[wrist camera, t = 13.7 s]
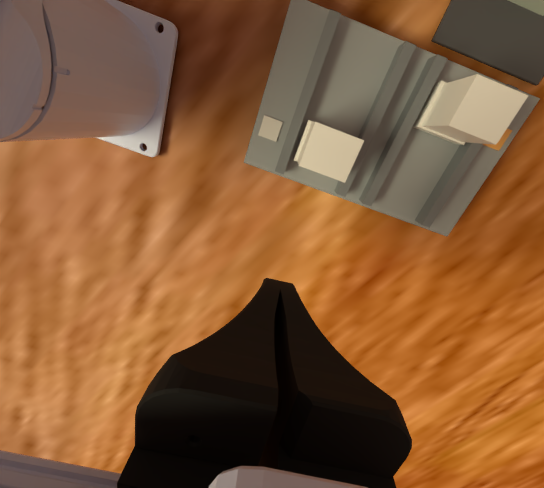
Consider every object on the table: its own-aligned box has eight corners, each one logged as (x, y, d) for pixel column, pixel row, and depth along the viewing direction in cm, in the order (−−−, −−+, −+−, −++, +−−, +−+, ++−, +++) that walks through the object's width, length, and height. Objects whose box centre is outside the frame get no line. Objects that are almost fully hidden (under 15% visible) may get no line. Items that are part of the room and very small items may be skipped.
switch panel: (247, 160, 19) (241, 164, 17) (292, 6, 15) (292, -16, 13) (436, 229, 20) (455, 242, 18) (519, 101, 16) (556, 96, 14)
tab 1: (293, 159, 17) (294, 166, 14) (307, 120, 16) (312, 118, 13) (336, 175, 17) (347, 185, 14) (353, 137, 16) (368, 139, 13)
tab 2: (411, 126, 16) (443, 126, 13) (434, 82, 15) (475, 69, 12) (456, 144, 16) (498, 148, 13) (481, 102, 15) (534, 94, 12)
